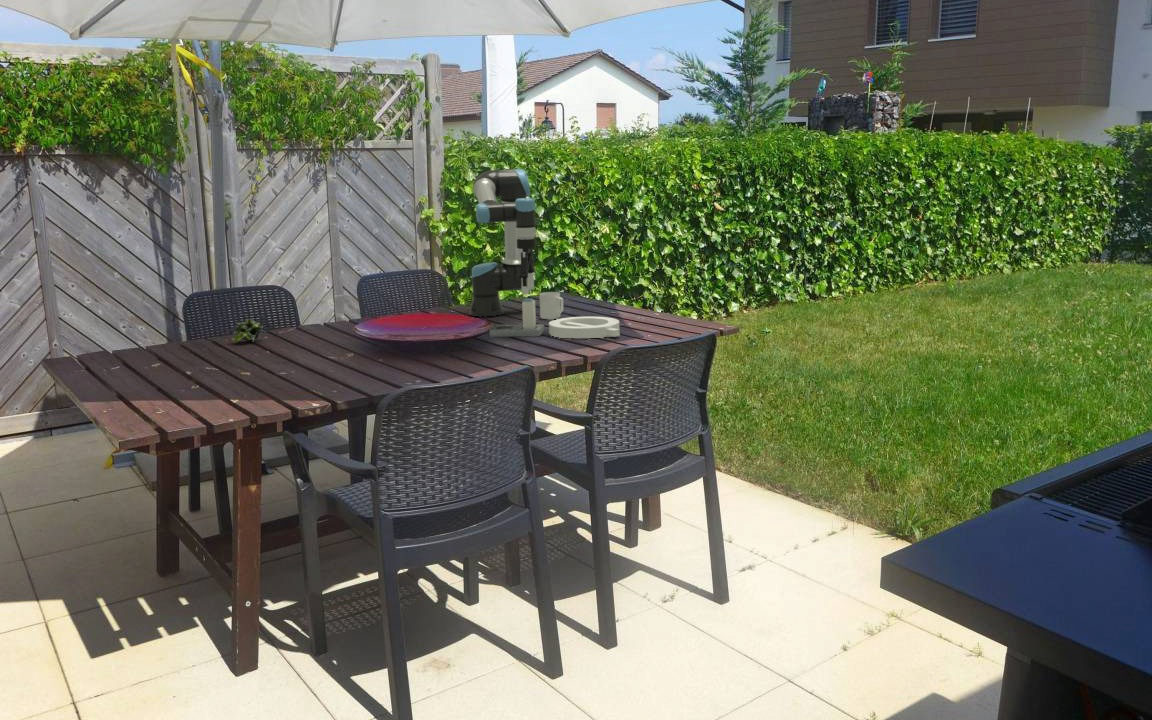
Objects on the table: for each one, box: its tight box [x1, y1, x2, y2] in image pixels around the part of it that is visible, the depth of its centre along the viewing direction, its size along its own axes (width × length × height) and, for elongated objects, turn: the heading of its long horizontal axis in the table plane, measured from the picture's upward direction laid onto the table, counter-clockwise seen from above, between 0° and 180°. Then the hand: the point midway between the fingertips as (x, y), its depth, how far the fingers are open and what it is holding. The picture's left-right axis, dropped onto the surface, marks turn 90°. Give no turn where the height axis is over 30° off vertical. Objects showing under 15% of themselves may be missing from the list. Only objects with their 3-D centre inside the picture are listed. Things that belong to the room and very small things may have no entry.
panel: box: [489, 323, 545, 338], centre depth 375 cm, size 13×20×2 cm, turn 84°
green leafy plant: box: [232, 318, 266, 343], centre depth 371 cm, size 11×11×12 cm
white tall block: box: [521, 298, 537, 329], centre depth 373 cm, size 4×4×14 cm
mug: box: [538, 291, 564, 321], centre depth 407 cm, size 12×9×11 cm
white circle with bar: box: [548, 316, 621, 339], centre depth 372 cm, size 28×28×5 cm
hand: (528, 291), depth 372 cm, fingers open, 13 cm apart
